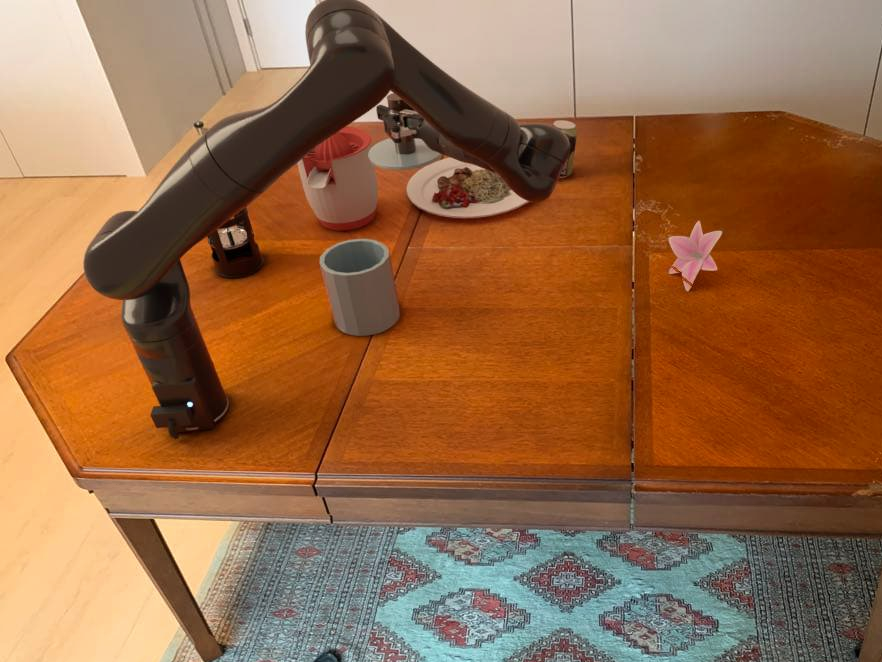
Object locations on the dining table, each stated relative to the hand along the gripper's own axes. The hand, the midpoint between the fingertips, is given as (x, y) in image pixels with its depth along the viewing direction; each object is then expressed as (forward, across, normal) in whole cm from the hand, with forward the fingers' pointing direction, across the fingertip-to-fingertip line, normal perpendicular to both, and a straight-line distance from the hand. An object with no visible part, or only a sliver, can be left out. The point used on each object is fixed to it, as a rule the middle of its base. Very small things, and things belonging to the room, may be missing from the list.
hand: (388, 107), depth 132 cm
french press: (+31, +19, +33) cm, 49 cm away
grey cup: (-3, +14, +33) cm, 36 cm away
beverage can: (+8, -50, +33) cm, 60 cm away
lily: (-39, -34, +33) cm, 62 cm away
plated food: (+17, -32, +33) cm, 49 cm away
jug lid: (-3, 0, +7) cm, 8 cm away
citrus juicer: (+29, -5, +33) cm, 44 cm away
